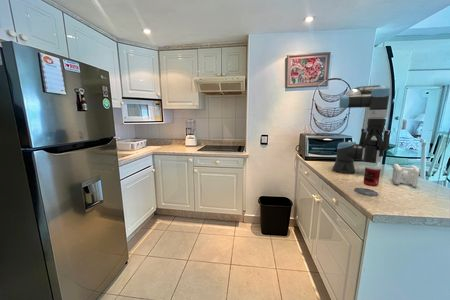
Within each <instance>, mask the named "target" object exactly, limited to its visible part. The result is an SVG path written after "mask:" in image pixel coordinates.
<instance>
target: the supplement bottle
mask: <svg viewBox="0 0 450 300" xmlns="http://www.w3.org/2000/svg"><path fill="white" fill-rule="evenodd" d="M377 150H379V147H378V142H377V140H374V139H370V140H368V144H367V145H366V146H365V151H364V159H363V160H362V161H363V162H365V163H370V164H372V163H373V164H377V163H376V156H377Z"/></svg>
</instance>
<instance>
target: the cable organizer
mask: <svg viewBox="0 0 450 300" xmlns="http://www.w3.org/2000/svg"><path fill="white" fill-rule="evenodd" d="M420 172H421V171H420V168H418V167H417V166H416V165H413V164H411V166H410V167H403V166H400V165H399V164H398V163H394V164H393V166H392V173H391V174H392V175H391V179H392V181H393V183H394V185H400V183H408V184H410V185H411V186H412V187H413V188H417V186H418V184H419V183H418V182H419V177H420Z"/></svg>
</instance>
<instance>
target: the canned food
mask: <svg viewBox="0 0 450 300" xmlns="http://www.w3.org/2000/svg"><path fill="white" fill-rule="evenodd" d="M381 172H382V171H381V168H380V167H378V166H374V165H373V166H372V165H366V166H365V169H364V174H363V175H364V177H363V184H364V185H366V186H370V187H378V186H379V185H380V184H379V183H380V178H381V177H380V176H381Z"/></svg>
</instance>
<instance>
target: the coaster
mask: <svg viewBox="0 0 450 300" xmlns="http://www.w3.org/2000/svg"><path fill="white" fill-rule="evenodd" d="M353 192H355V193H356V192H357V194H358V195H362V196H366V197H377V196H379V193H378V191H376V190H373V189H371V188H366V187H355V188H353Z"/></svg>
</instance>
